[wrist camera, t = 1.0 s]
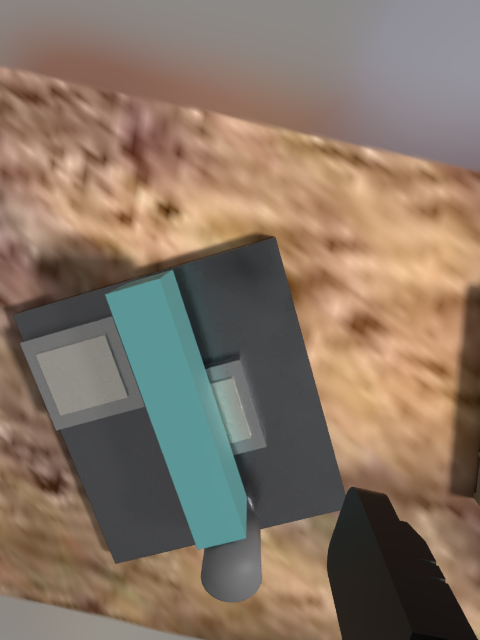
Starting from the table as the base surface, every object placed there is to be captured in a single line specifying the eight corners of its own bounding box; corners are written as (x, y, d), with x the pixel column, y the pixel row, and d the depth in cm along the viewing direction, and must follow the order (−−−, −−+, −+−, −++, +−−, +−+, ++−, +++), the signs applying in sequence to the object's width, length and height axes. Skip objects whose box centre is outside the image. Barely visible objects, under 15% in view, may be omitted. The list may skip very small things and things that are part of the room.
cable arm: (266, 542, 31) (268, 595, 27) (216, 554, 31) (211, 607, 27) (177, 268, 27) (163, 278, 23) (121, 284, 27) (97, 297, 23)
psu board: (345, 497, 34) (353, 520, 31) (119, 552, 35) (109, 578, 33) (274, 236, 29) (276, 238, 27) (21, 311, 31) (1, 319, 28)
